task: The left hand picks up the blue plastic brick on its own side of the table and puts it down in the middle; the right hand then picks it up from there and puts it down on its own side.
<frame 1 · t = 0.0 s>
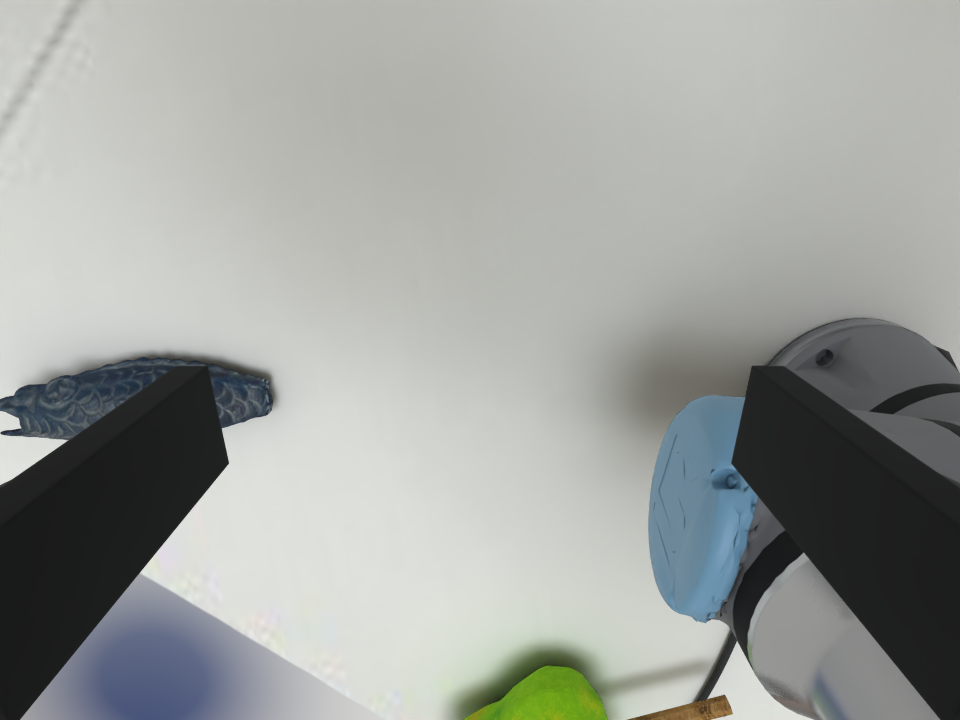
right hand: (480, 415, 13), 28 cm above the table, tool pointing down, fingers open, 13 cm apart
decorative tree: (575, 690, 57), on the table
fish model: (155, 393, 43), on the table
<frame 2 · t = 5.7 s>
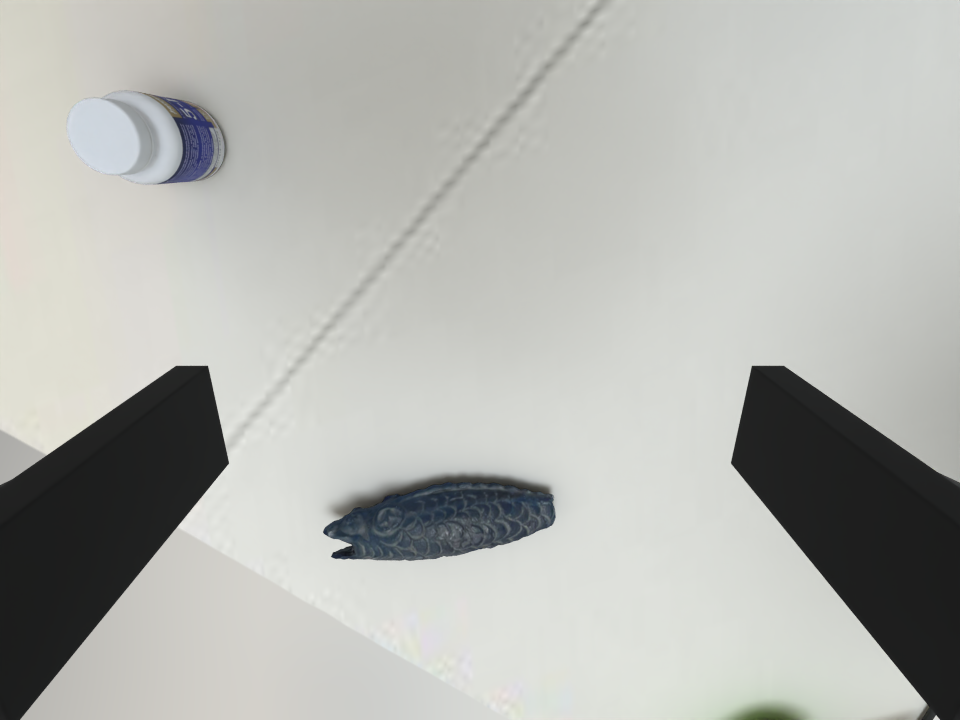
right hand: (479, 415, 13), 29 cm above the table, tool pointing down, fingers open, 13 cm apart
pill bottle: (190, 141, 37), on the table
fish model: (444, 507, 49), on the table
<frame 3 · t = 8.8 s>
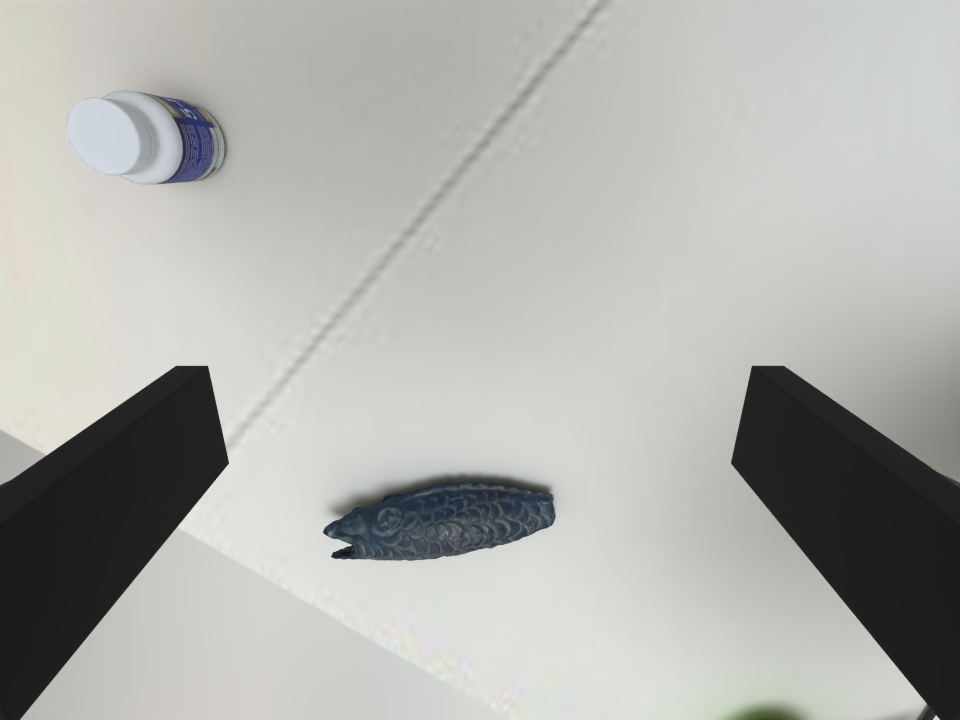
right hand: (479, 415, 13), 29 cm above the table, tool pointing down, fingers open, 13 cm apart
pill bottle: (190, 141, 37), on the table
fish model: (444, 507, 49), on the table
when the left hand's fingers open (6 cm above the table, at t = 12.4 s): brick drops 2 cm, on the table.
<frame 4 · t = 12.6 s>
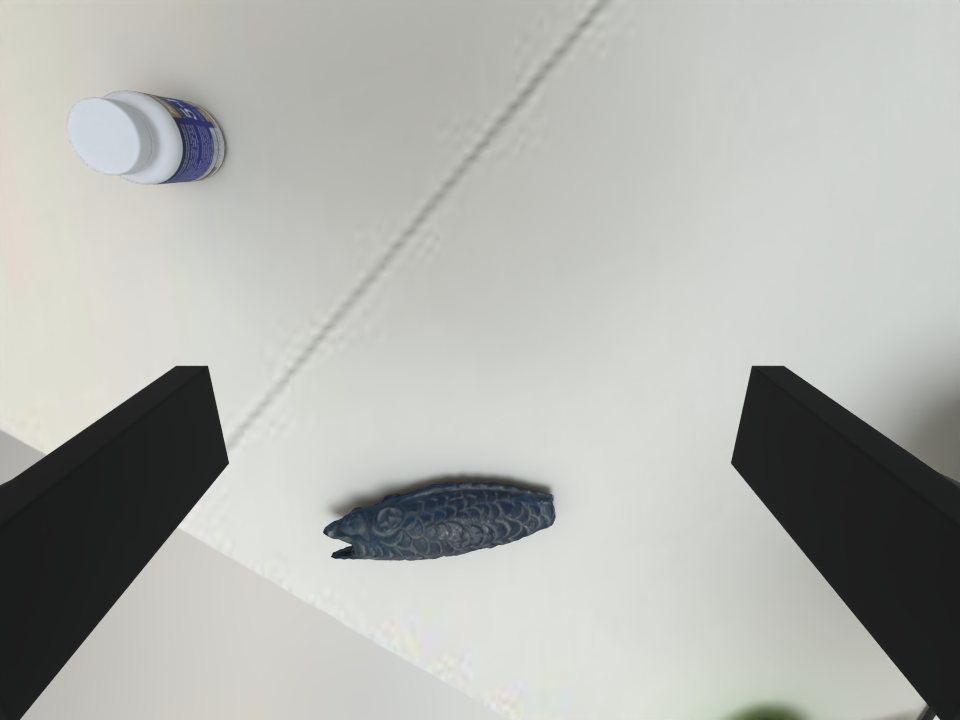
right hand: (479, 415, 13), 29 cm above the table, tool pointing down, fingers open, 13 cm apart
pill bottle: (190, 141, 37), on the table
fish model: (444, 507, 49), on the table
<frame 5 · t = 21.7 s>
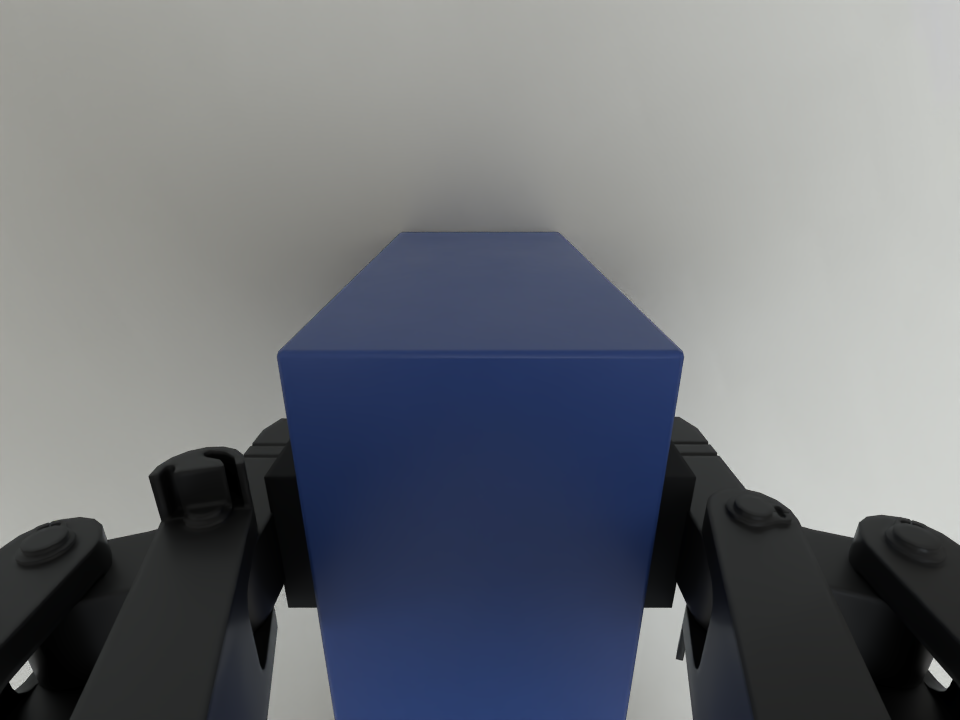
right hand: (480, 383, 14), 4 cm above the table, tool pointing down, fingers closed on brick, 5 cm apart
brick: (479, 339, 18), on the table, touching right hand
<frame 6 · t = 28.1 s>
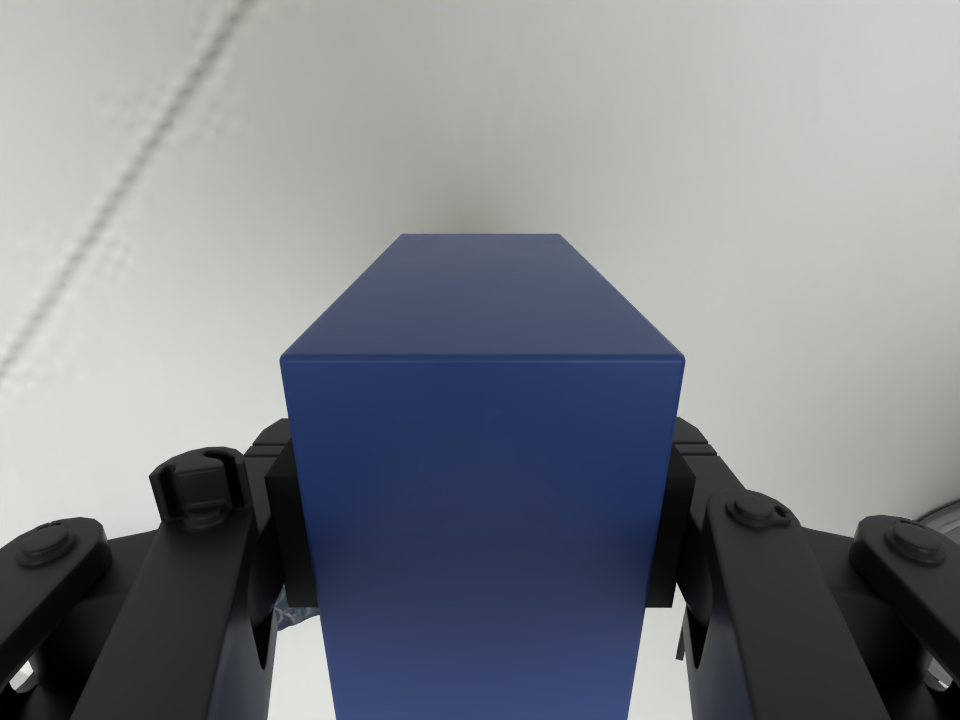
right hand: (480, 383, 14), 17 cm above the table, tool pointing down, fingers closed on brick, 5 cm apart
brick: (480, 341, 18), point 13 cm above the table, touching right hand
fish model: (202, 583, 39), on the table
when the right hand's fingers open (6 cm above the table, at t = 34.7 s): brick drops 2 cm, on the table.
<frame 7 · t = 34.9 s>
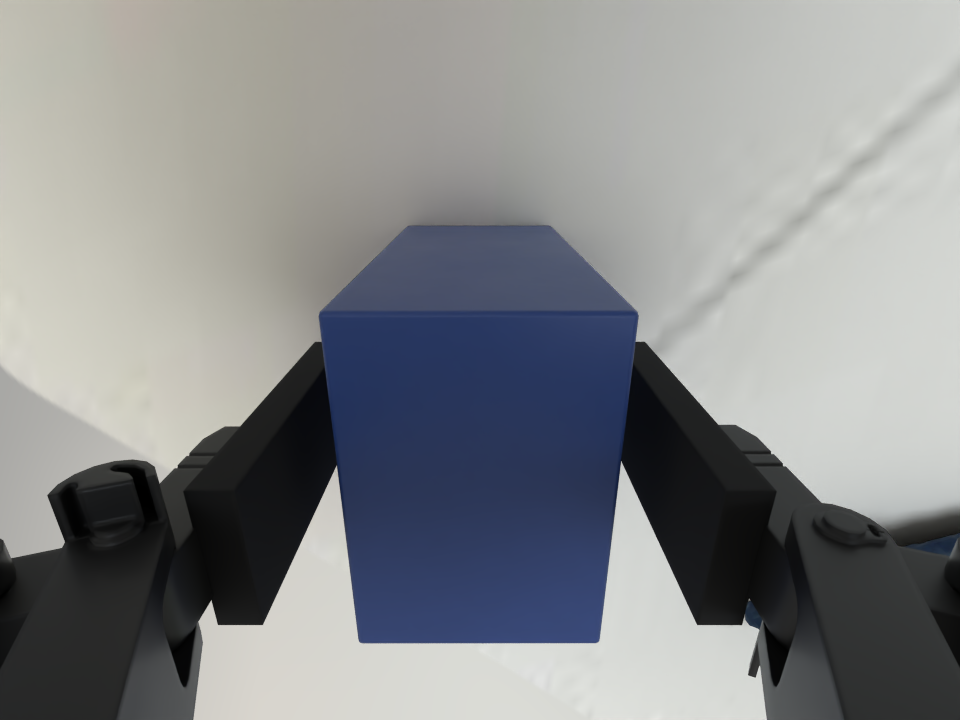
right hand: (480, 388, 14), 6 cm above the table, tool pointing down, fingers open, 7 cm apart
brick: (479, 324, 20), on the table
fish model: (947, 569, 24), on the table
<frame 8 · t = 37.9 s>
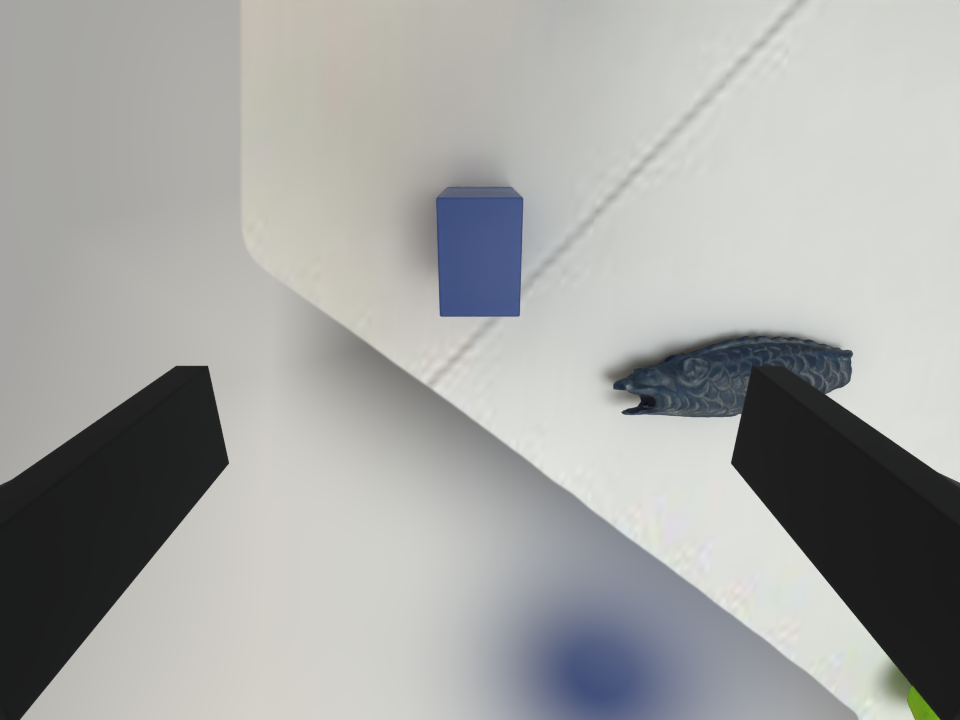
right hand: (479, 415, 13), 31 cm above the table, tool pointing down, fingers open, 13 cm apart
brick: (479, 234, 42), on the table
fish model: (723, 371, 46), on the table
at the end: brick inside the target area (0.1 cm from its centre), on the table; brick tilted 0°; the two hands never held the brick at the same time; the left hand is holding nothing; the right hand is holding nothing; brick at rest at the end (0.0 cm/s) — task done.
